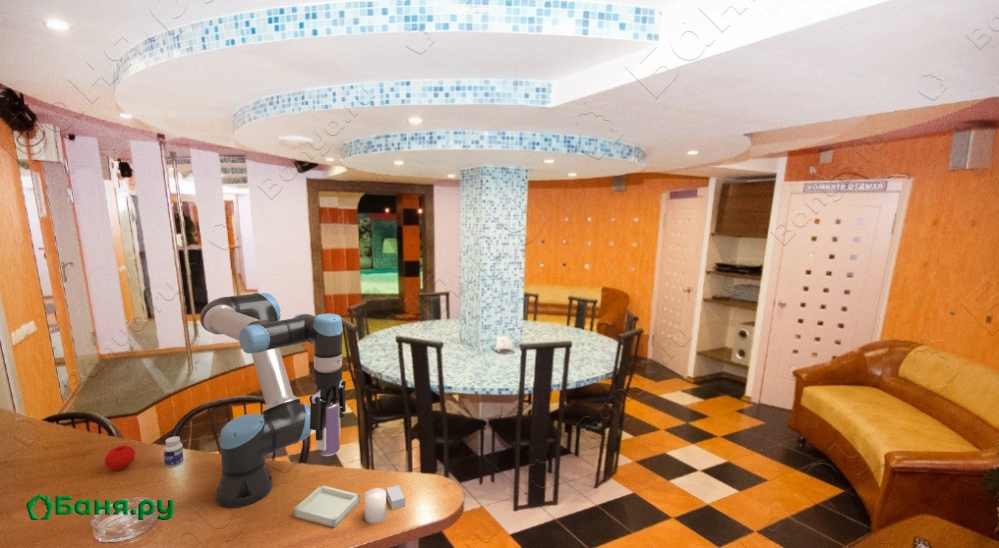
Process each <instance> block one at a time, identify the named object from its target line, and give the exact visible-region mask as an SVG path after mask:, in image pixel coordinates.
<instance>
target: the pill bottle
mask: <svg viewBox="0 0 999 548" xmlns="http://www.w3.org/2000/svg"><path fill="white" fill-rule="evenodd" d="M163 460H164V466H165V467H166V468H172V467H173V468H174V467H177V466H180V465H181V464H182V463H183V462H184V446H183V443H182V442H181V438H180V436H178V435H177V436H176V435H175V436H172V437H168V438H166V439H165V446H164V447H163Z"/></svg>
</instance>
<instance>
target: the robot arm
mask: <svg viewBox="0 0 999 548" xmlns="http://www.w3.org/2000/svg"><path fill="white" fill-rule="evenodd" d="M342 320H343V319H342V317H341V315H339V314H336V313H335V314H334V313H321V314H317V315H313V314H309V313H298V314H296V315H295V316H294V317H292V318H287V319H282V320H281V308H280V305H279V302H278V301H277V299H276V298H275V297H274V296H273V295H272V294H270V293H267V292H260V293H259V292H254V293H250V294H241V295H233V296H231V295H230V296H222V297H218V298H216V299H213V300H211V301H209V303H207V304H206V305H205V306H204V307H203V308H202V309H201V311H200V314H199V322H200V325H201V327H202V328H203V329H204V330H205V331H207V332H209V333H210V334H213V335H225V336H227V337H228V338H231V339H234V340H237V341H238V342H239V346H240V348H241V349H242V351H243V352H244V353H246V354H251V357H252V362H253V364H254V368H255V371H256V374H257V377H258V382H259V385H260V389H261V393H262V396H263V399H264V403H265V406H264V408H263V410H262V412H261V413H262V414H260V413H251V414H248V413H247V414H243V415H239V416H238V417H235V418H233V419H231V420H230V421H228V422H227V423H226V424H225V425H224V426H222V427H223V428H221V430H220V440H219V446H220V457H221V476H220V478H219V479H220V480H219V483H218V486H217V489H216V492H215V494H216V497H215V498H216V503H217V504H218V505H219V506H220V507H225V508H240V507H245V506H249V505H252V504H254V503H256V502H258V501H261V500H262V499H263V498H265V497H266V496H268V494H269V493H270V492H271V491H272V488H273V479H272V476H271V475H272V474H271V473H270V471H269V468H268V466H267V464H266V455H268V454H270V453H274V452H277V451H279V450H281V449H284V448H286V447H289V446H292V445H296V444H297V443H299V442H302V441H304V440H305V439H307V438H308V437H309V436H310V435H311V433H312V431H315V440H316V442H315V444H316V446H315V448H316V449H315V450H318V449H319V450H324V451H325V450H326V428H324V425H325V420H326V410H327V407H328V405H329V404H330V401H336V402H337V401H338V402H339V406H340V426H341V424H342V421H341V420H342V418H344V416H345V412H346V409H347V407H346V405H347V404H346V383H347V381H346V380H343V368H342V366H343V331H344V327H343V321H342ZM304 343H310V344H312V345H313V368H314V371H313V374H314V375H313V376H314V377H313V378H314V379H313V381H314V383H315V384H316V386H317V387H316V393H315V395H310V396H309V403H310V405H308V404H307V403H302V401H301V399H300V397H298V396H296V395H294V393H293V390H292V387H291V383H290V379H289V375H288V371H287V370H286V366H285V363H284V359H283V356H282V353H281V349H280V348H284V347H289V346H294V345H295V346H296V345H298V344H304ZM324 401H326V402H324Z"/></svg>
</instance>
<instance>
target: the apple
mask: <svg viewBox="0 0 999 548" xmlns="http://www.w3.org/2000/svg"><path fill="white" fill-rule="evenodd" d="M135 457H136V451H135V449H134V448H133V447H132V446H128V445H119V446H116V447H114V448H112V449H110V450H109V452H108V453H107V454H106V456H105V458H104V465H105V467H106V468H108V469H109V470H111V471H114V472H120V471H122V470H125V469H127V468H128V467H129V466H130V465H131V464H132V462H133V461H134V460H135Z"/></svg>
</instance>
